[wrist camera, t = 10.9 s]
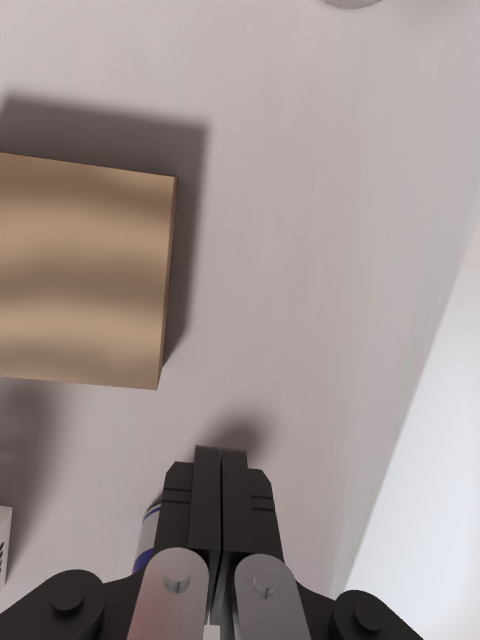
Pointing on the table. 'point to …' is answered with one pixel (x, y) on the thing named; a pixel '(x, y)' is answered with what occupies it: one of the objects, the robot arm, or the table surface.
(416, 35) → the table surface
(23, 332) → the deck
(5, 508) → the grater
